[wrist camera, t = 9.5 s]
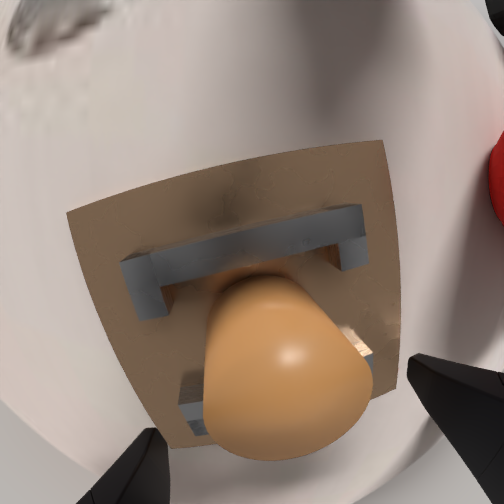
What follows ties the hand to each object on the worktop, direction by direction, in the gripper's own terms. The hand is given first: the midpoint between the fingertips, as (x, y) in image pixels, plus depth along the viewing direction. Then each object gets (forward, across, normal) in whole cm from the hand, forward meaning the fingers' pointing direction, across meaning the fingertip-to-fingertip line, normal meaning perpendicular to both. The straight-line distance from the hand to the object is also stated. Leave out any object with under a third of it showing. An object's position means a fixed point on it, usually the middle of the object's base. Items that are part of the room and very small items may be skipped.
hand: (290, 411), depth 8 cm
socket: (+6, 0, 0) cm, 6 cm away
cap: (+6, 0, 0) cm, 6 cm away
